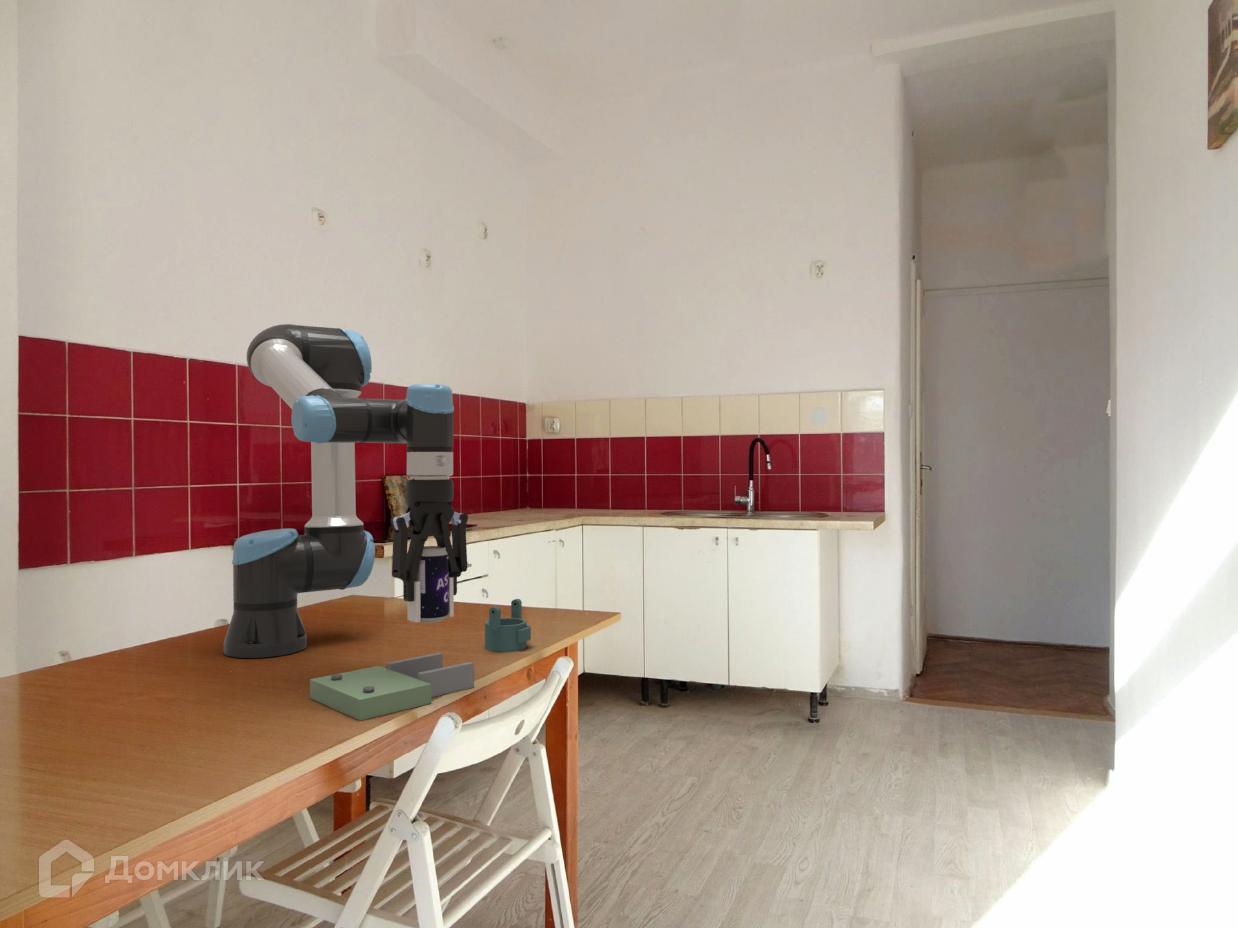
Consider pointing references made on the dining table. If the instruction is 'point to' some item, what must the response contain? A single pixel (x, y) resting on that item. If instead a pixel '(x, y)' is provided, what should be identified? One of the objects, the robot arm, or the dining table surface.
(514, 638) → the bracket
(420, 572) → the beverage can
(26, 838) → the dining table surface
